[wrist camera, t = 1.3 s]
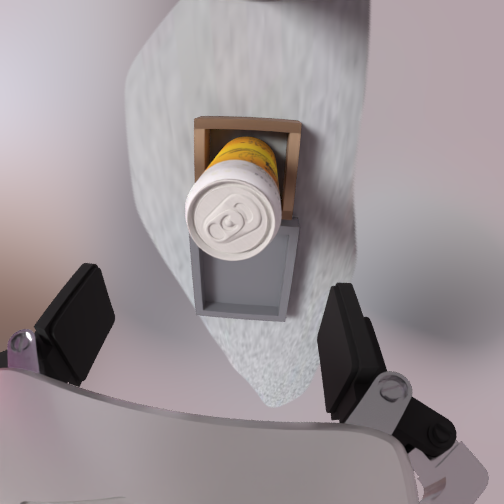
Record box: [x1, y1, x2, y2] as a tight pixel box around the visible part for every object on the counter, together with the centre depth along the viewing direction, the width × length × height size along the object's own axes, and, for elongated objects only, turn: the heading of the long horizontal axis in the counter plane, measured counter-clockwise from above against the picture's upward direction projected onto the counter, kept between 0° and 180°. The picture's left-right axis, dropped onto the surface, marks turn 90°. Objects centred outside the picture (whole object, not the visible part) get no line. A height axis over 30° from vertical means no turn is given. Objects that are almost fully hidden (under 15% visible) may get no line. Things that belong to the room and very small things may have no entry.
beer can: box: [185, 136, 282, 261], centre depth 23 cm, size 6×6×15 cm
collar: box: [194, 116, 302, 220], centre depth 28 cm, size 10×10×3 cm
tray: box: [189, 217, 300, 322], centre depth 35 cm, size 14×12×2 cm
